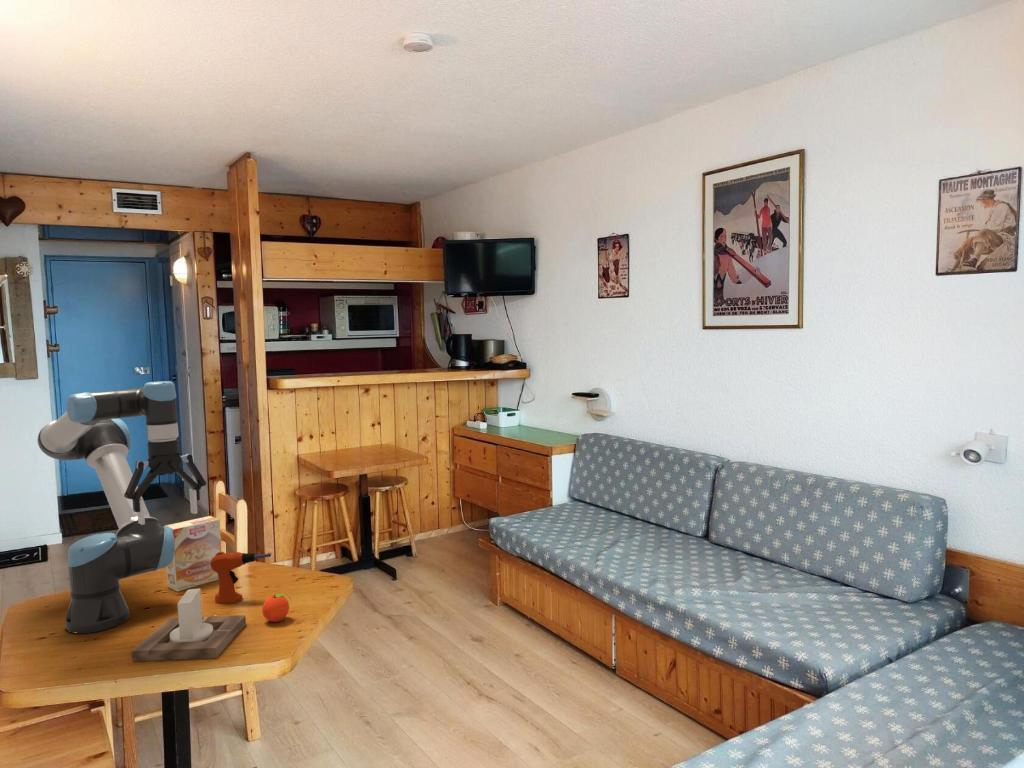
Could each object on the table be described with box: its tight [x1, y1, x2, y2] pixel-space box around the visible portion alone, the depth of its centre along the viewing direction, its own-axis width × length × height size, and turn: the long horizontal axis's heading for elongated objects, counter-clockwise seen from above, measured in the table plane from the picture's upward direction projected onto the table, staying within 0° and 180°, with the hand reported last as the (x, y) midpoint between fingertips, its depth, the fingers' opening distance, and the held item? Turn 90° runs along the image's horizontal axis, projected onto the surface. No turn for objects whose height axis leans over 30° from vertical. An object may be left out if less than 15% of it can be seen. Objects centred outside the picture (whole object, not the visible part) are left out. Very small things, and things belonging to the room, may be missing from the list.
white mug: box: [170, 588, 213, 643], centre depth 184 cm, size 14×10×11 cm
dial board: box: [131, 614, 247, 662], centre depth 183 cm, size 20×20×3 cm
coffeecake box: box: [165, 515, 222, 593], centre depth 227 cm, size 15×7×20 cm, turn 139°
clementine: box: [261, 593, 292, 623], centre depth 195 cm, size 8×7×7 cm
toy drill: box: [210, 551, 272, 604], centre depth 210 cm, size 5×19×15 cm, turn 86°
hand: (168, 518), depth 193 cm, fingers open, 13 cm apart
